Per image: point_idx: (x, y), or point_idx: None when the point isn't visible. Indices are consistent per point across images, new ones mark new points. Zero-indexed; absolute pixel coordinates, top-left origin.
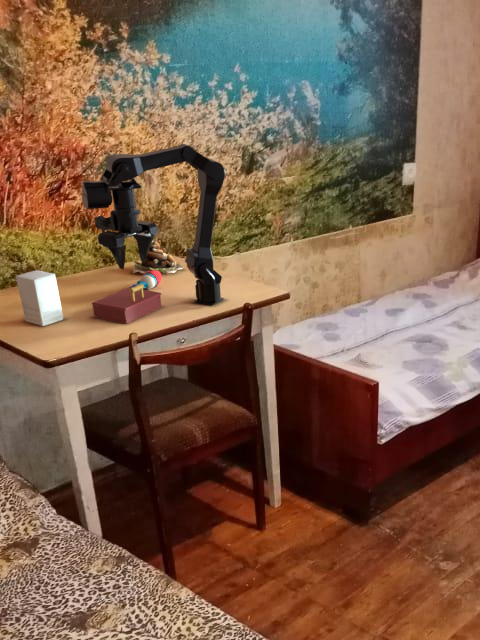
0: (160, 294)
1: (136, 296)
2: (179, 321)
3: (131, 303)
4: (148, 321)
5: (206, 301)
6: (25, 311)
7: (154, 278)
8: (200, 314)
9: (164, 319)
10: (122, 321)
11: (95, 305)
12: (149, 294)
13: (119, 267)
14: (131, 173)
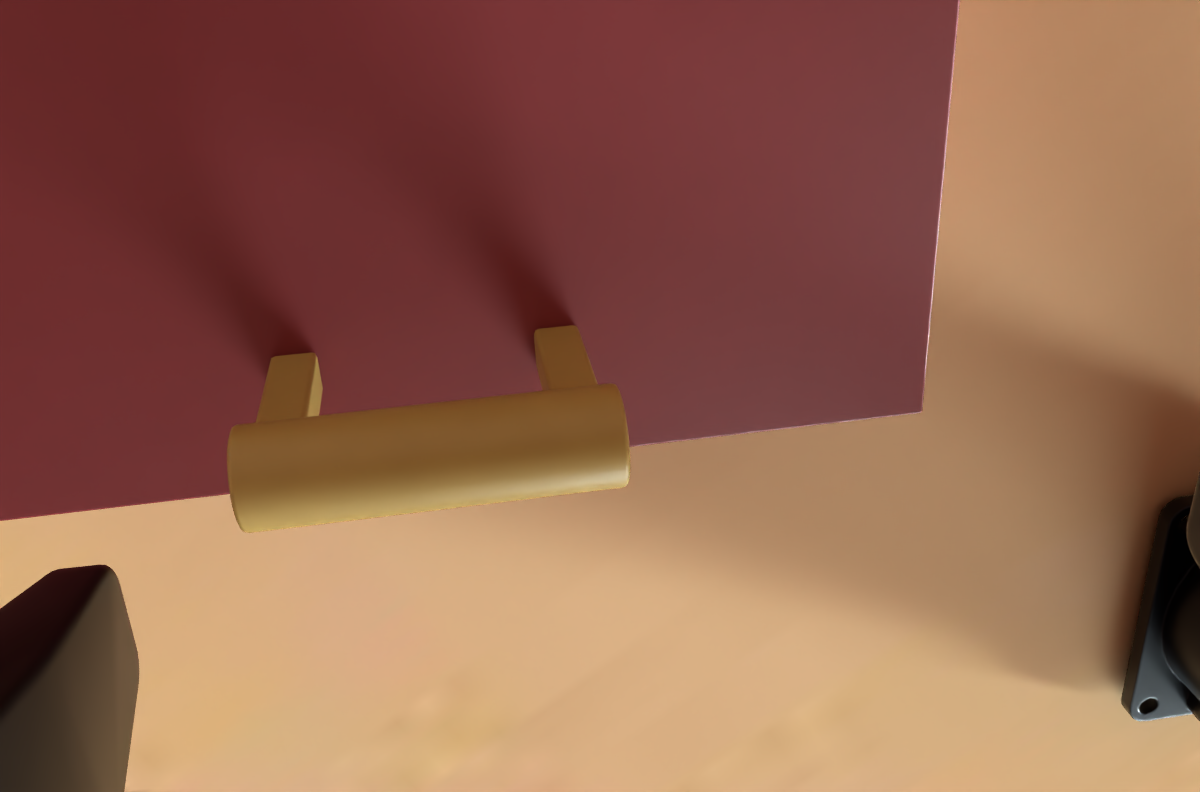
0: (891, 405)
1: (543, 227)
2: (500, 773)
3: (183, 424)
4: (275, 534)
5: (1169, 650)
6: None
7: None
8: (813, 779)
9: (457, 623)
10: None
11: None
12: (755, 330)
13: (31, 595)
14: None
